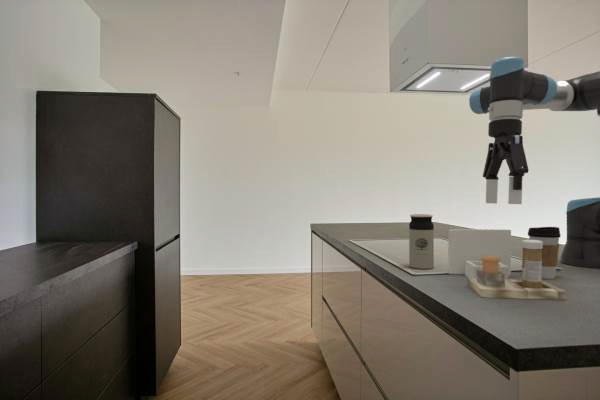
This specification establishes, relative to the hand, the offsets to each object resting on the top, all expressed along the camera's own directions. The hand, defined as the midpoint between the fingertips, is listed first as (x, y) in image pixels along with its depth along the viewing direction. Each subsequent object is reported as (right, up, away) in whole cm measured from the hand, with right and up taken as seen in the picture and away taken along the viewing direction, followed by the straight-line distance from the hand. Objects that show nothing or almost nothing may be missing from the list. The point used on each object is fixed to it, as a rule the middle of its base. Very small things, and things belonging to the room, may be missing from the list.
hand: (502, 203), depth 99 cm
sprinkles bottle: (+8, -23, 0) cm, 24 cm away
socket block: (+3, -23, +1) cm, 23 cm away
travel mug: (-10, -22, +34) cm, 42 cm away
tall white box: (+4, -22, +17) cm, 29 cm away
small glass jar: (-2, -19, +2) cm, 19 cm away
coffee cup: (+22, -22, +18) cm, 36 cm away
